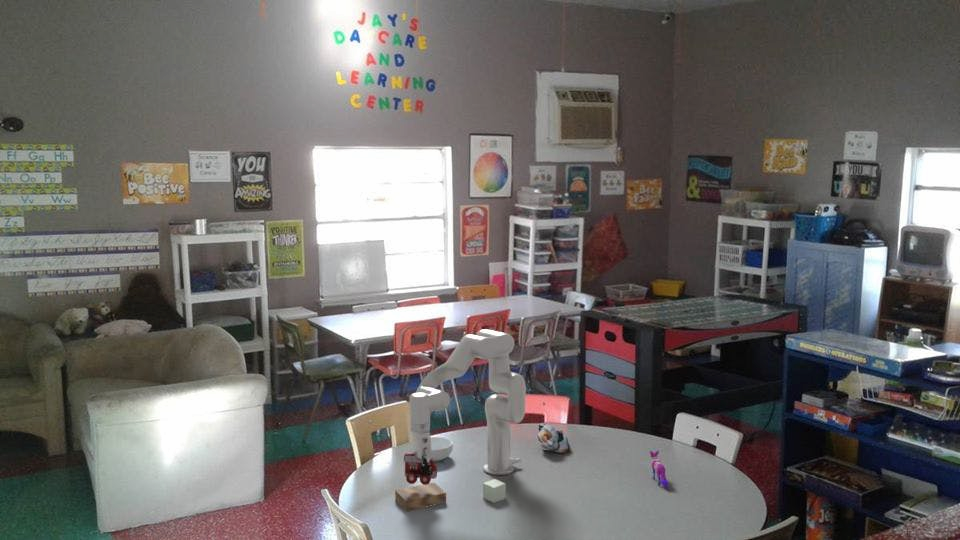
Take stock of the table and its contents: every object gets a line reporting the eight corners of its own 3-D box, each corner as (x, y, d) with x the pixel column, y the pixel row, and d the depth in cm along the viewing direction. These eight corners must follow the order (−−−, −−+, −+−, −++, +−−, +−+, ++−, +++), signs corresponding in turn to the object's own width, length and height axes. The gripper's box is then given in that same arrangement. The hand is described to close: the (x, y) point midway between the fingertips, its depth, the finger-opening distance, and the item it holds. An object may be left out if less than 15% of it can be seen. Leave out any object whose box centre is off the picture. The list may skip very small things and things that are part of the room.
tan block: (434, 492, 307) (434, 482, 306) (446, 502, 297) (446, 492, 296) (395, 500, 299) (395, 490, 299) (406, 511, 290) (406, 501, 289)
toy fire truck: (435, 485, 293) (434, 458, 291) (402, 483, 294) (401, 456, 293) (438, 478, 300) (438, 451, 298) (406, 476, 301) (405, 450, 300)
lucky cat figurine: (574, 453, 347) (564, 430, 341) (549, 464, 347) (539, 441, 341) (564, 433, 360) (555, 410, 354) (540, 443, 360) (530, 421, 354)
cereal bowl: (460, 456, 344) (460, 440, 343) (438, 468, 330) (438, 452, 329) (428, 449, 353) (428, 433, 352) (405, 460, 339) (405, 444, 338)
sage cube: (494, 493, 305) (494, 478, 304) (505, 498, 301) (505, 483, 300) (483, 498, 301) (483, 483, 300) (493, 503, 297) (493, 487, 296)
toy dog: (656, 472, 326) (656, 448, 325) (671, 490, 308) (672, 464, 307) (647, 472, 326) (647, 448, 324) (661, 490, 308) (662, 465, 306)
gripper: (438, 431, 288) (438, 477, 290) (420, 418, 304) (420, 461, 306) (419, 434, 285) (420, 480, 287) (401, 421, 300) (402, 464, 302)
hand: (420, 470), depth 296 cm, fingers closed on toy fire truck, 8 cm apart
